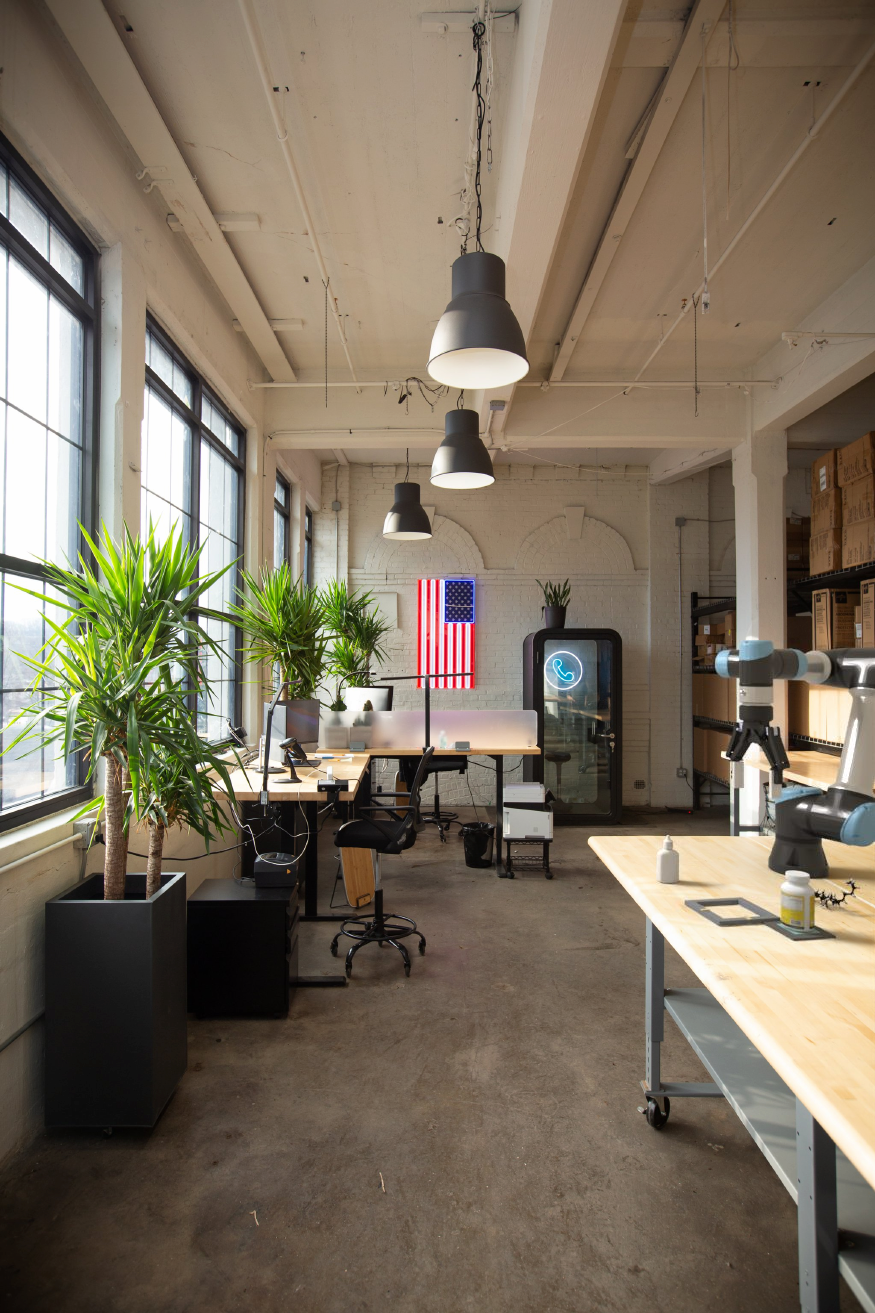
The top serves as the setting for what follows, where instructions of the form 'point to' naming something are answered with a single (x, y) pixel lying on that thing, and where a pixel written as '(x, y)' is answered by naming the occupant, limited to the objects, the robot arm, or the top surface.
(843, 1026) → the top surface
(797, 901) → the pill bottle
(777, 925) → the mat
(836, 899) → the molecular model
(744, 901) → the socket plate
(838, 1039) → the top surface
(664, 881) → the eye dropper bottle
